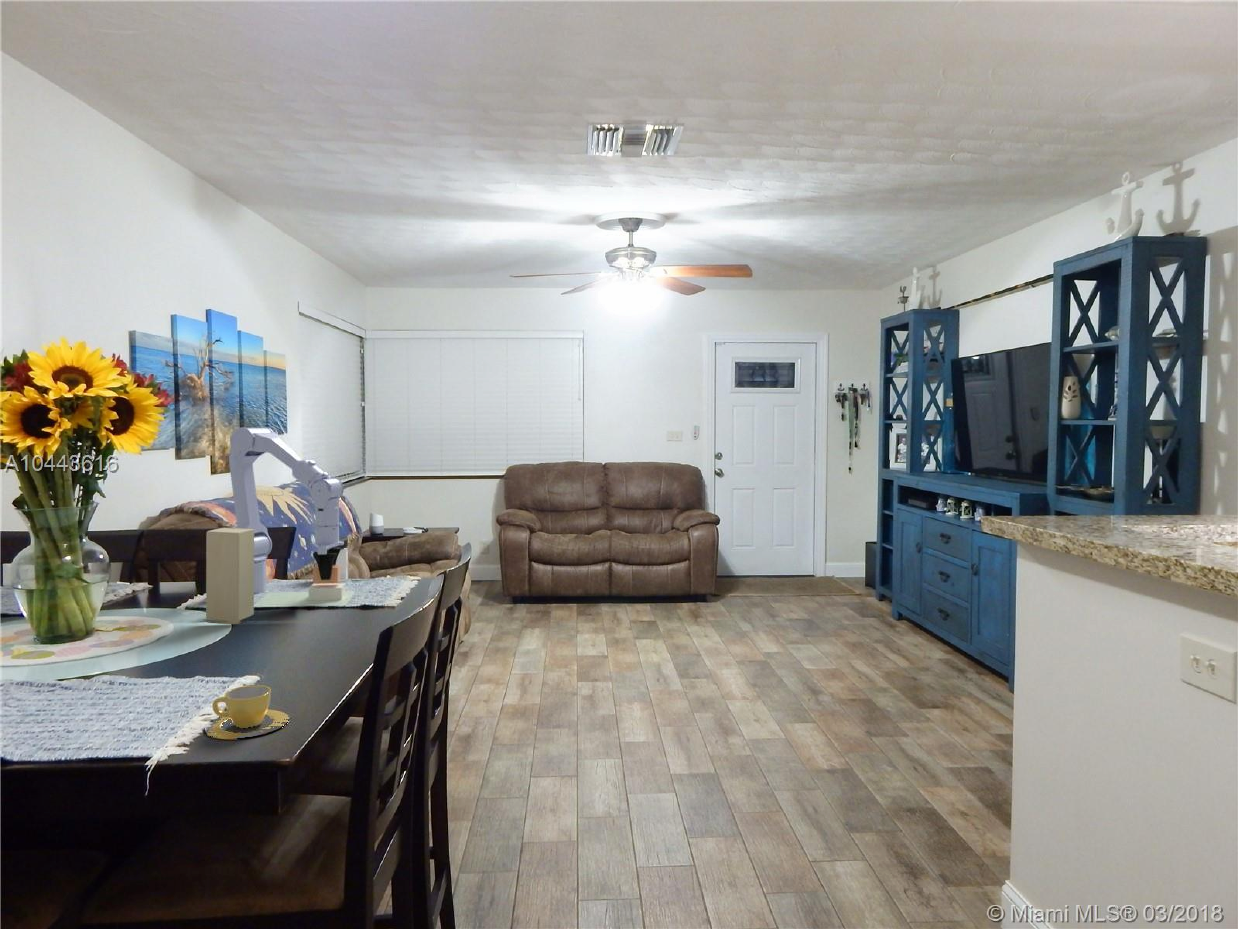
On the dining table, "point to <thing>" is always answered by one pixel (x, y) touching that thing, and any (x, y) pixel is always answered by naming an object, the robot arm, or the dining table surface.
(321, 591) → the base brick
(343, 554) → the jar
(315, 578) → the top brick
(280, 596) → the baseplate
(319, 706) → the dining table surface
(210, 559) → the beige tall rectangular block
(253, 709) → the cup
